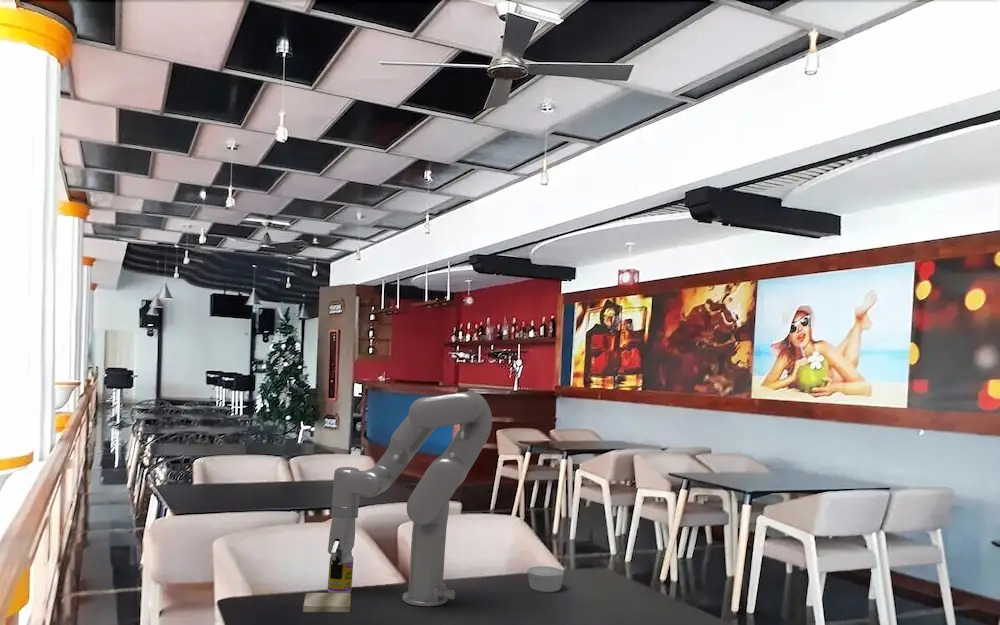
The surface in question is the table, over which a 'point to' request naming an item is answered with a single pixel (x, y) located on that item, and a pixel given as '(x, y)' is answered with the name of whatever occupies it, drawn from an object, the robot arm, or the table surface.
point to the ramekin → (545, 578)
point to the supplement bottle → (347, 571)
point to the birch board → (327, 602)
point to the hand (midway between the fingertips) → (340, 574)
